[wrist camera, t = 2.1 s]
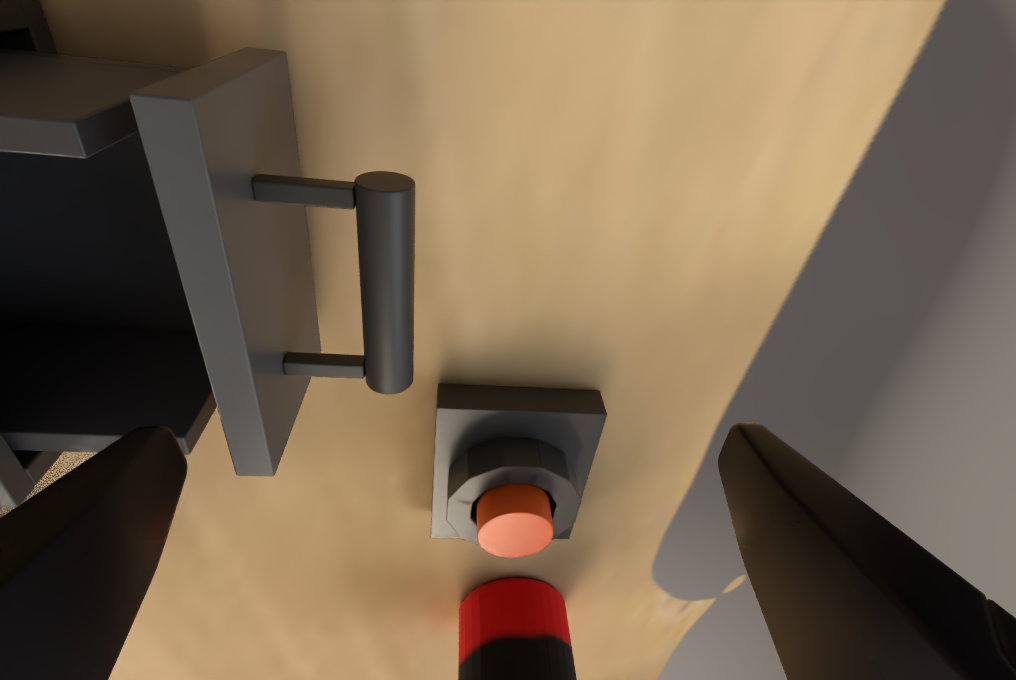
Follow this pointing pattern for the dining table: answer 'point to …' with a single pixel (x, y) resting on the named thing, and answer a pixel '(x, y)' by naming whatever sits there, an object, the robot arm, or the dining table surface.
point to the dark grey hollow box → (3, 472)
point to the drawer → (176, 256)
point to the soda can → (514, 633)
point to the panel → (511, 450)
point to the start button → (514, 520)
